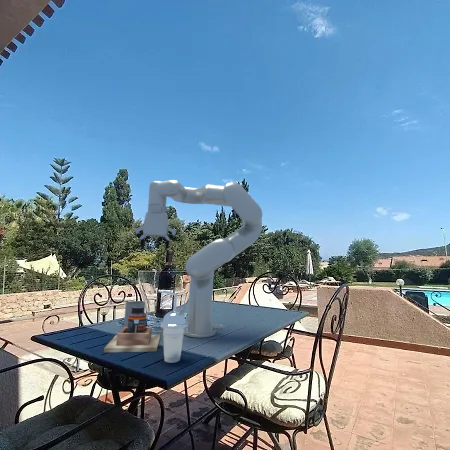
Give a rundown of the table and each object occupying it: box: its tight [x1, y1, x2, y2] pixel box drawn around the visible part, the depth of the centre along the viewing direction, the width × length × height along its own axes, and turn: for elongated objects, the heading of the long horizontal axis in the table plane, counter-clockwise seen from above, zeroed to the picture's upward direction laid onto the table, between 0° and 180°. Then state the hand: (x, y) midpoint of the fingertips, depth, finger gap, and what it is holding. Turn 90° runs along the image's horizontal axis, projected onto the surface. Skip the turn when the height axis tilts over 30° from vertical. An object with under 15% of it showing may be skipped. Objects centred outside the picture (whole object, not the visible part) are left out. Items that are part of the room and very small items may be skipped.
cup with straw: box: [157, 289, 188, 363], centre depth 83 cm, size 8×9×20 cm
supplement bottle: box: [127, 306, 147, 333], centre depth 96 cm, size 6×6×11 cm
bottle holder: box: [103, 326, 161, 354], centre depth 95 cm, size 16×16×5 cm
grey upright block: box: [123, 300, 146, 327], centre depth 123 cm, size 8×8×10 cm
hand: (154, 249), depth 118 cm, fingers open, 9 cm apart
